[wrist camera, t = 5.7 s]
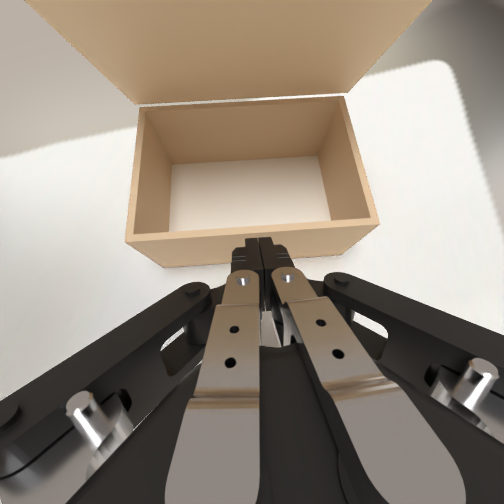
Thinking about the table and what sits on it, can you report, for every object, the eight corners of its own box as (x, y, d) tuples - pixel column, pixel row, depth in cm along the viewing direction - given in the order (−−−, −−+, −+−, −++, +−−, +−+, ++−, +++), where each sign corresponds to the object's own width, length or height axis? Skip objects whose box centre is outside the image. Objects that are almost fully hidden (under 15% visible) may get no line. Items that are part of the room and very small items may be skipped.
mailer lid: (-73, -91, 7) (-80, -116, 7) (134, 104, 21) (133, 97, 21) (535, -113, 8) (538, -135, 8) (347, 92, 22) (348, 85, 22)
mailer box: (163, 267, 25) (124, 242, 17) (169, 164, 29) (139, 107, 21) (341, 254, 25) (380, 224, 18) (320, 154, 30) (343, 95, 22)
